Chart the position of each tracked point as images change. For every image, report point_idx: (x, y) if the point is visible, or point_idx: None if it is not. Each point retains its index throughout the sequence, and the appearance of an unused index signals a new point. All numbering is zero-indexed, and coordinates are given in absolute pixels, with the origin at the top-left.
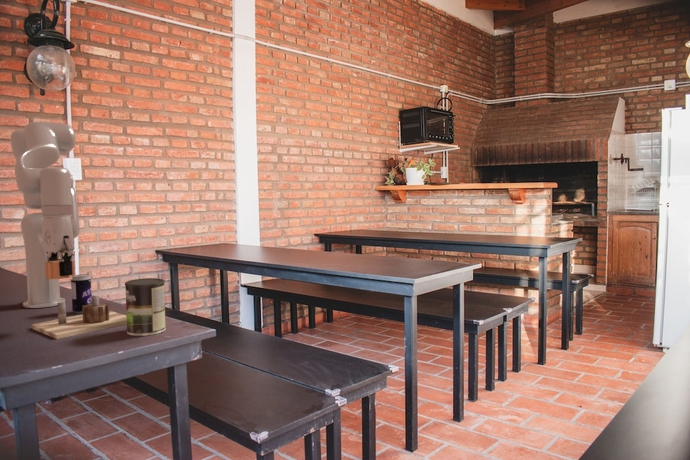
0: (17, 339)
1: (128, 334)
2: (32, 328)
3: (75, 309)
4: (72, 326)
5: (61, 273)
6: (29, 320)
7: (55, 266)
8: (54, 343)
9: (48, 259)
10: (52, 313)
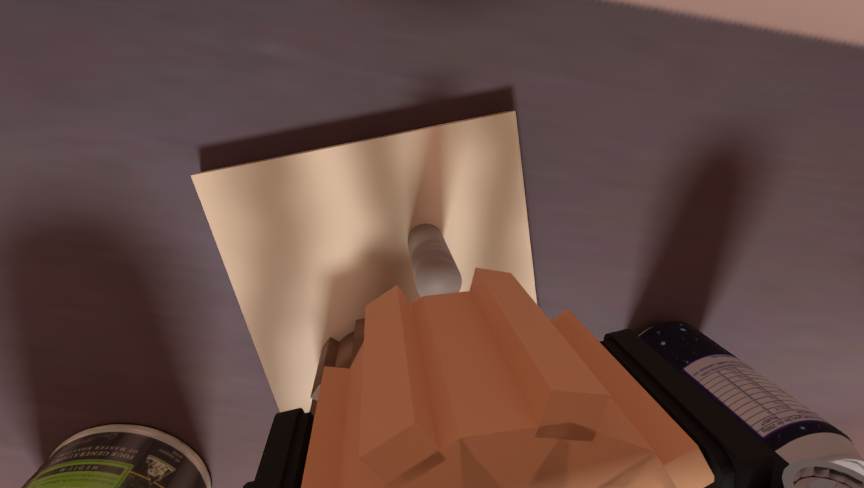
0: (320, 8)
1: (104, 425)
2: (496, 113)
3: (654, 333)
4: (326, 266)
5: (271, 440)
6: (688, 132)
7: (353, 465)
8: (122, 148)
9: (784, 475)
10: (742, 245)
